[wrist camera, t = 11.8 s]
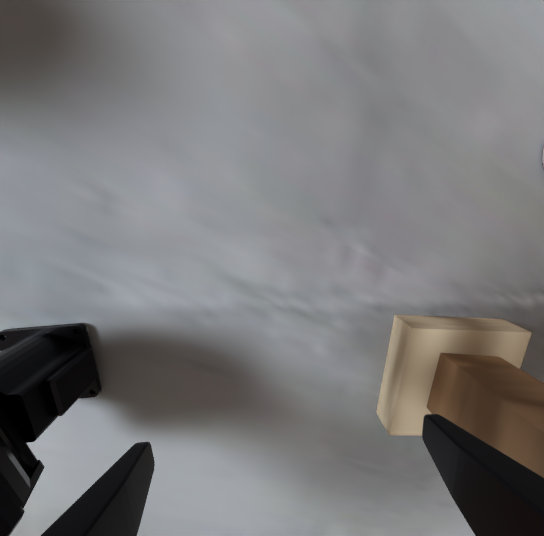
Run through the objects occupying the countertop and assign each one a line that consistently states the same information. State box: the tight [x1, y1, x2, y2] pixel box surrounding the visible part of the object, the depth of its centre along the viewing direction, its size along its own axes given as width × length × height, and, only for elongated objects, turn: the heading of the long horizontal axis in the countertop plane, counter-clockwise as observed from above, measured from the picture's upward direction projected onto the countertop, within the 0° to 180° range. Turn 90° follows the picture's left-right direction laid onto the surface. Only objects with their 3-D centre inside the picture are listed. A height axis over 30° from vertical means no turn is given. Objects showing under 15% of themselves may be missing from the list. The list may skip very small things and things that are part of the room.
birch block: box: [376, 315, 532, 435], centre depth 23 cm, size 10×10×3 cm
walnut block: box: [426, 353, 544, 478], centre depth 15 cm, size 5×5×12 cm
